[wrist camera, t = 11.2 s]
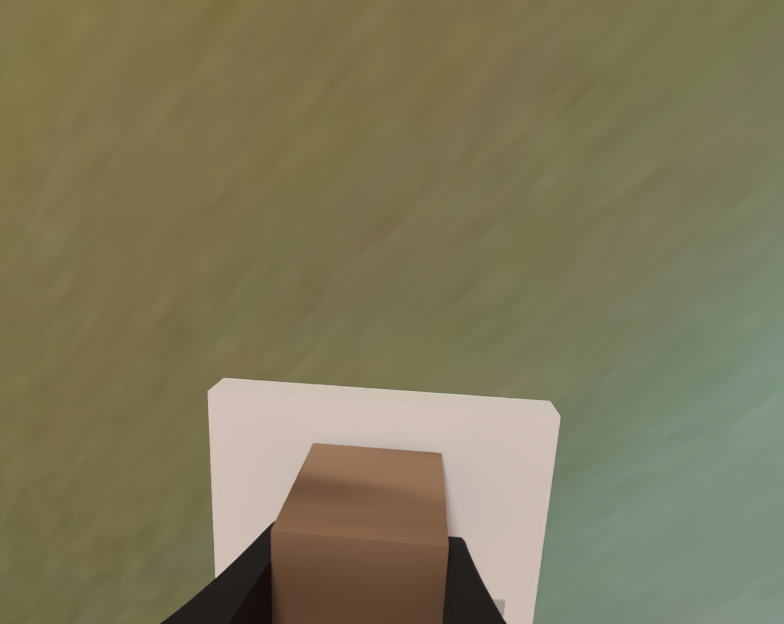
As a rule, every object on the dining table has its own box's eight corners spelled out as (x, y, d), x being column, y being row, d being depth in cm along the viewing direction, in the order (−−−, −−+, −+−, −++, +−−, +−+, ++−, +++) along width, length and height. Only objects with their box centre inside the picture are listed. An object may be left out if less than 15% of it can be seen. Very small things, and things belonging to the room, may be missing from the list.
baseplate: (549, 400, 15) (561, 417, 14) (506, 731, 18) (513, 770, 17) (224, 377, 15) (206, 392, 14) (234, 701, 18) (221, 736, 17)
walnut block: (433, 564, 15) (436, 690, 11) (311, 553, 15) (272, 673, 11) (441, 453, 14) (448, 546, 10) (313, 442, 14) (270, 530, 10)
